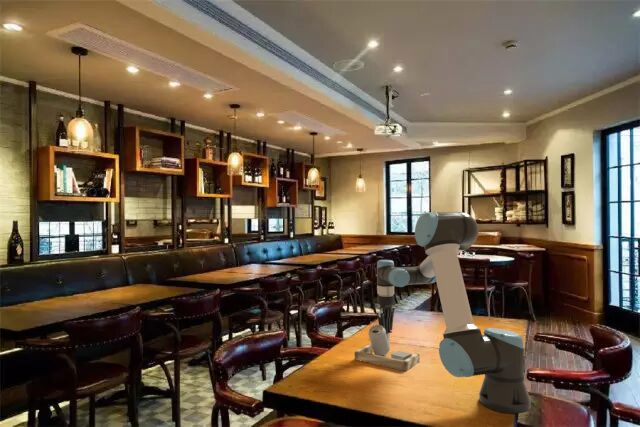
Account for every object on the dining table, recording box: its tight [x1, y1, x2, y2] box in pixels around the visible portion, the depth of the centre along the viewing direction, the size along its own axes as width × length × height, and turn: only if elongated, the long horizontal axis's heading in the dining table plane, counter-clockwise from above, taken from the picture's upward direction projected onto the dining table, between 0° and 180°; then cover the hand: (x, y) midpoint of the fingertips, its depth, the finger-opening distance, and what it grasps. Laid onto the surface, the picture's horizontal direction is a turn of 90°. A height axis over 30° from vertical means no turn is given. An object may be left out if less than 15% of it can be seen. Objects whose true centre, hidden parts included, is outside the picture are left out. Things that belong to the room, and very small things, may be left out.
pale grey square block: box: [390, 350, 413, 360], centre depth 176 cm, size 6×6×4 cm
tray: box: [354, 344, 420, 372], centre depth 178 cm, size 13×24×4 cm, turn 54°
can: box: [368, 324, 391, 356], centre depth 185 cm, size 8×8×12 cm
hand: (386, 347), depth 190 cm, fingers closed
